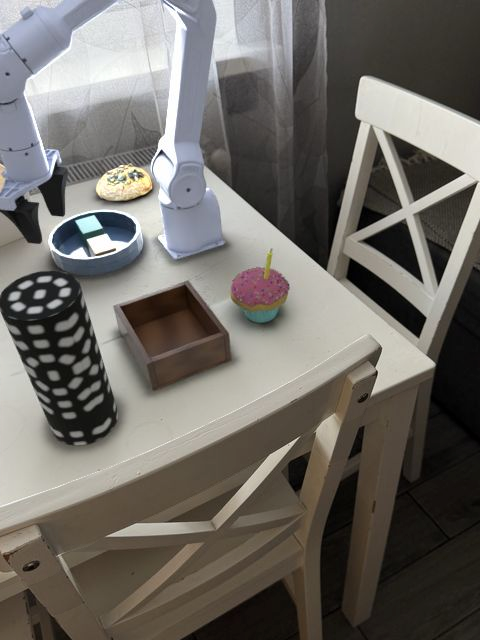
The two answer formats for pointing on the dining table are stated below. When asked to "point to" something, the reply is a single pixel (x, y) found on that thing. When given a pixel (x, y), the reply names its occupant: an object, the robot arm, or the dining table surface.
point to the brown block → (100, 245)
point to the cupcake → (260, 292)
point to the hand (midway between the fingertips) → (47, 228)
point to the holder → (172, 334)
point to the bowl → (77, 257)
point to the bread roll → (124, 183)
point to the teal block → (88, 228)
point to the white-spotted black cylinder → (60, 354)
